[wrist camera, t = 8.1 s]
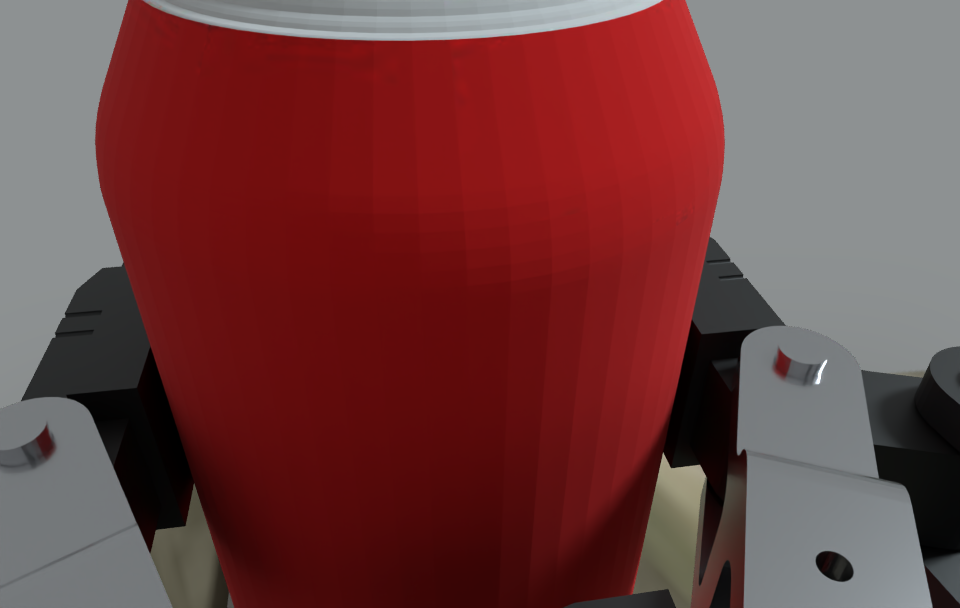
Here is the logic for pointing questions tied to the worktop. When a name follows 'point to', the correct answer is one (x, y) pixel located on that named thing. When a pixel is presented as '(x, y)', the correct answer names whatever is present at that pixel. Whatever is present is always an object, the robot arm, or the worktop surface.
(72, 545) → the robot arm
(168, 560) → the worktop surface
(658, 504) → the worktop surface
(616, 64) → the beverage can
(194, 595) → the worktop surface
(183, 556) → the worktop surface
